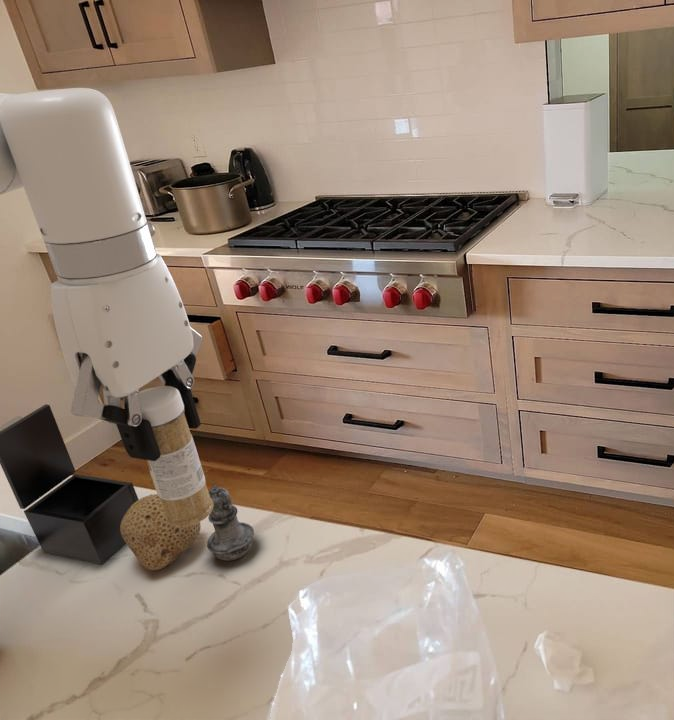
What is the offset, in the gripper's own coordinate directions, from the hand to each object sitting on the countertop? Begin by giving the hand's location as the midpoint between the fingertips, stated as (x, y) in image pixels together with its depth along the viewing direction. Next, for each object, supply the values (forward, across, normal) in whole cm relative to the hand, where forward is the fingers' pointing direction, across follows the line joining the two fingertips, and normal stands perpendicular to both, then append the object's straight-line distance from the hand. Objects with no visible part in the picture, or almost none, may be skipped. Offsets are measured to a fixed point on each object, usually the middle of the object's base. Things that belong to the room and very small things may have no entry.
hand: (165, 439), depth 63 cm
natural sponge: (+29, -11, -18) cm, 36 cm away
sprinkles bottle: (+9, 0, 0) cm, 9 cm away
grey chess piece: (+29, -13, -10) cm, 33 cm away
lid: (+15, -11, -36) cm, 40 cm away
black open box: (+29, -11, -31) cm, 44 cm away
